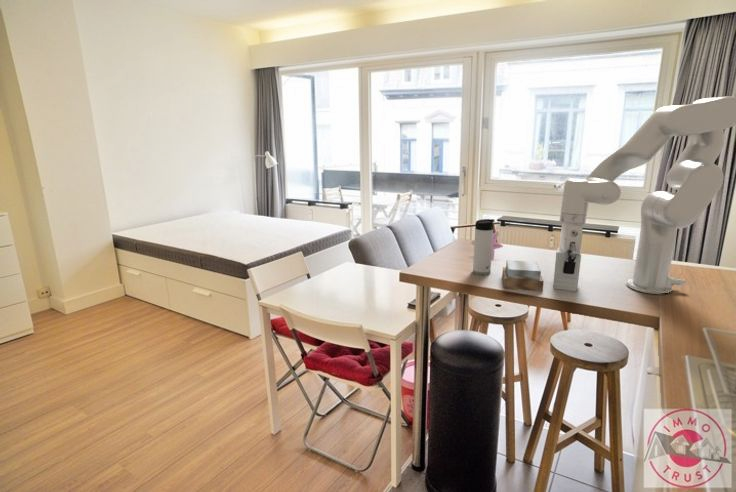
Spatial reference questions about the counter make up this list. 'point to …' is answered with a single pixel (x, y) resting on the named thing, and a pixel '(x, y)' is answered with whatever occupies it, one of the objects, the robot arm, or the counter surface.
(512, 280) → the brown napkin holder
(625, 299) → the counter surface
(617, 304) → the counter surface
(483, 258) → the travel mug
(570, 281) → the supplement box
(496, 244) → the lily
